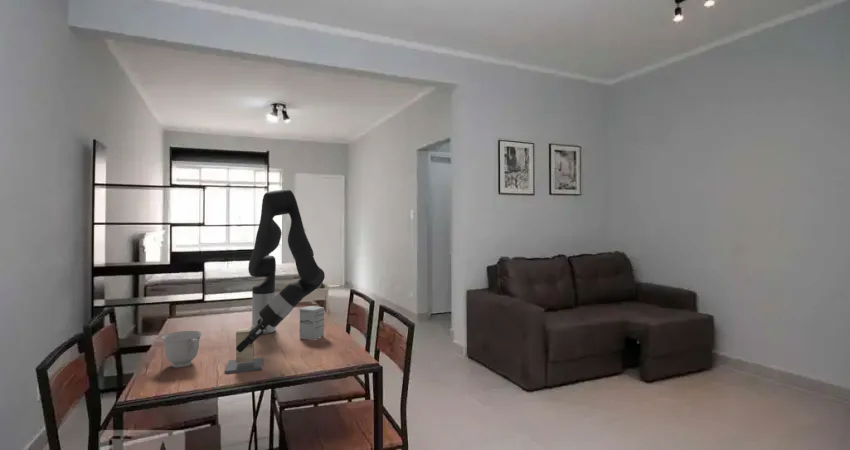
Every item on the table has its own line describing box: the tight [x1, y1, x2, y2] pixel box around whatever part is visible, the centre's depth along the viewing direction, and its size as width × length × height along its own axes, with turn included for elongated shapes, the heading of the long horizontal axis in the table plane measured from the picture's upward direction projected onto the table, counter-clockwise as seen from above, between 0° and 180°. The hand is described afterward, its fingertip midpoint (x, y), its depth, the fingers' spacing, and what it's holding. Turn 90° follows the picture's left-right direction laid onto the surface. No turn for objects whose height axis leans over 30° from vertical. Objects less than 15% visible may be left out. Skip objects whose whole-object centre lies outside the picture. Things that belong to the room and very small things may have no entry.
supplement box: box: [298, 305, 325, 341], centre depth 183 cm, size 7×7×13 cm
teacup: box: [161, 330, 203, 368], centre depth 148 cm, size 12×15×10 cm
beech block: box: [235, 327, 255, 363], centre depth 147 cm, size 5×5×10 cm
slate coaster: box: [224, 357, 264, 374], centre depth 147 cm, size 11×11×1 cm
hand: (239, 347), depth 147 cm, fingers closed on beech block, 5 cm apart
